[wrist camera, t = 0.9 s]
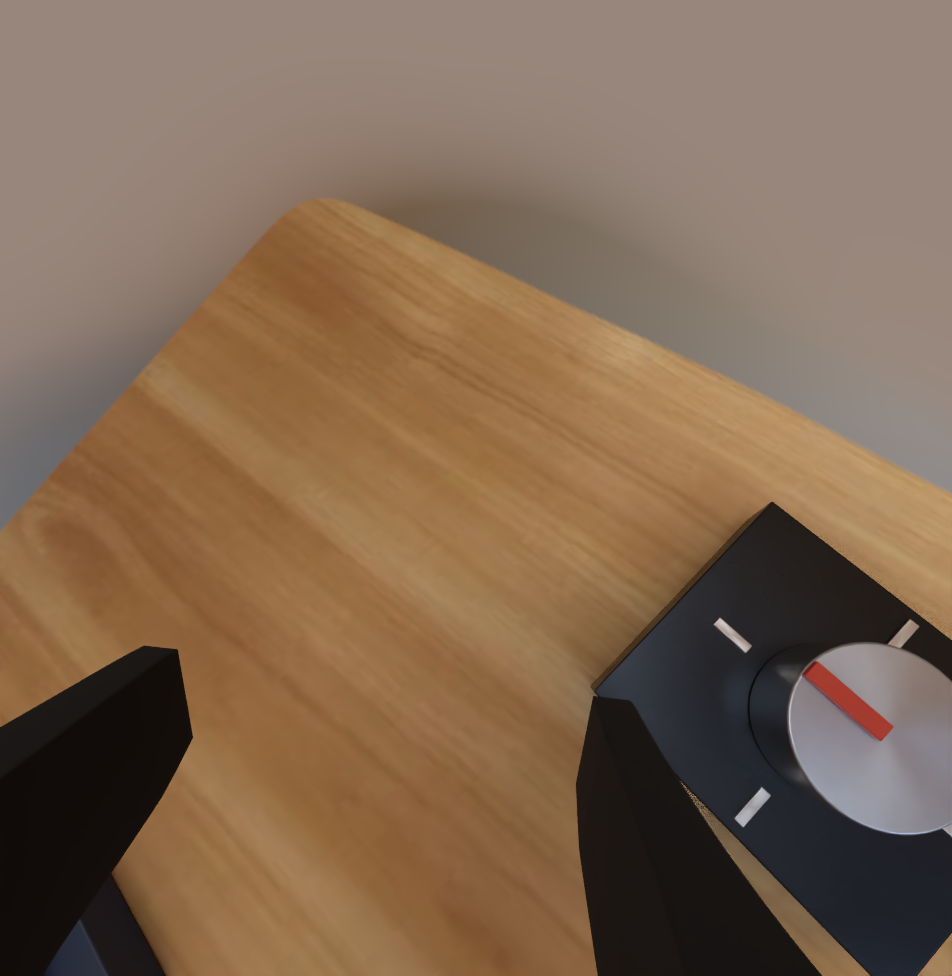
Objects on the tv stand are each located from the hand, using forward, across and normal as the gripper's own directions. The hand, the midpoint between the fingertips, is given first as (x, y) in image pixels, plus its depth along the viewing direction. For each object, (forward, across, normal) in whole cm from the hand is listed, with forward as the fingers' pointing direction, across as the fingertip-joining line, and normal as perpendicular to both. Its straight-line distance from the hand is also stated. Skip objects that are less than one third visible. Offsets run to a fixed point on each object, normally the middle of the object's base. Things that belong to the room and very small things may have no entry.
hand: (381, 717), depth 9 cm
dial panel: (+10, -14, +8) cm, 19 cm away
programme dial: (+8, -13, +6) cm, 17 cm away
